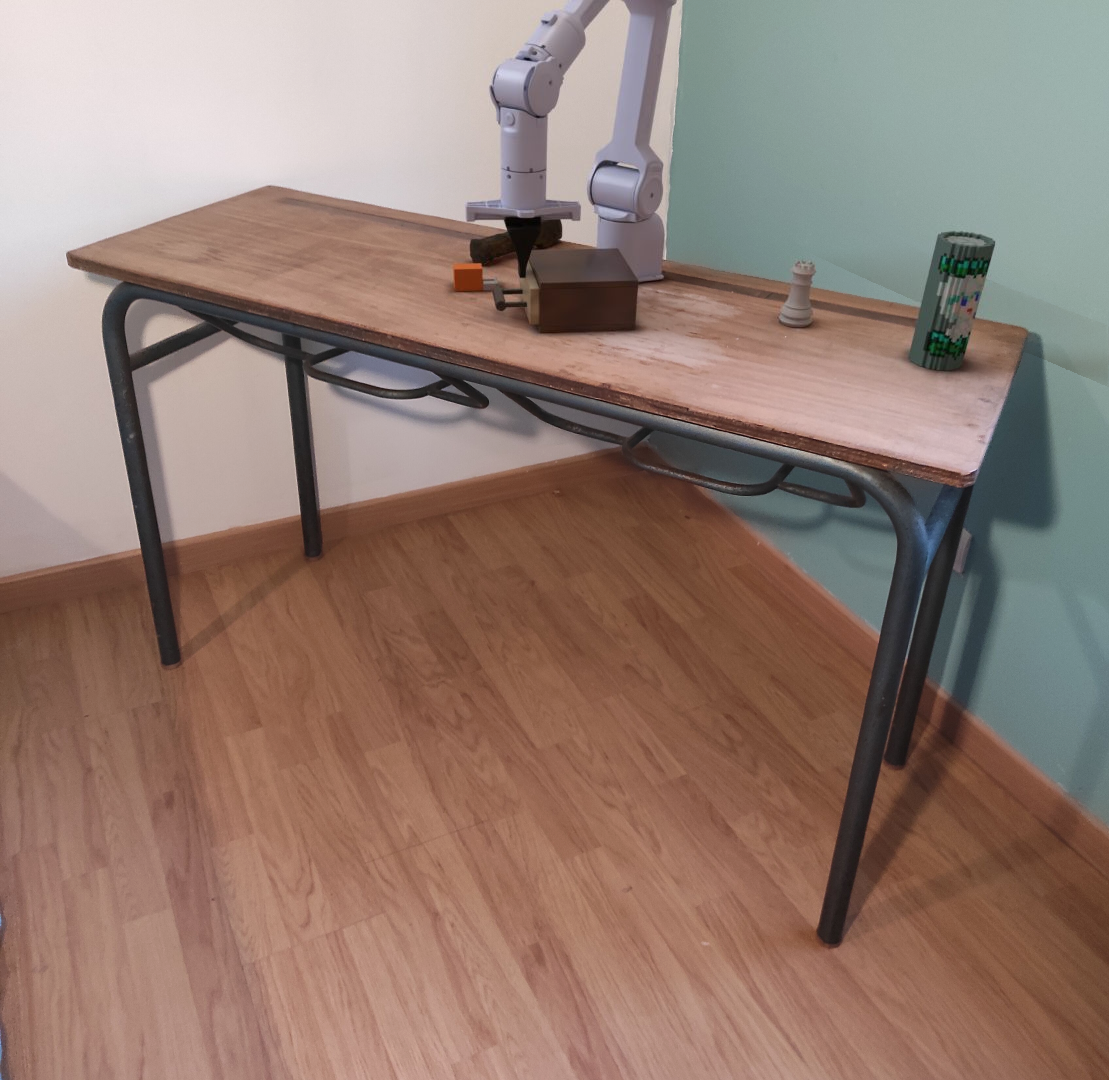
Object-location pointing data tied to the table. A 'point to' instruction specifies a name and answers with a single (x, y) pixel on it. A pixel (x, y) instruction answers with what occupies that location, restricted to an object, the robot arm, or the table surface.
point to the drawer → (528, 294)
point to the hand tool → (503, 244)
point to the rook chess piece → (799, 296)
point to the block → (471, 278)
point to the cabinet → (584, 290)
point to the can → (951, 299)
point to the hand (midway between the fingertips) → (522, 275)
